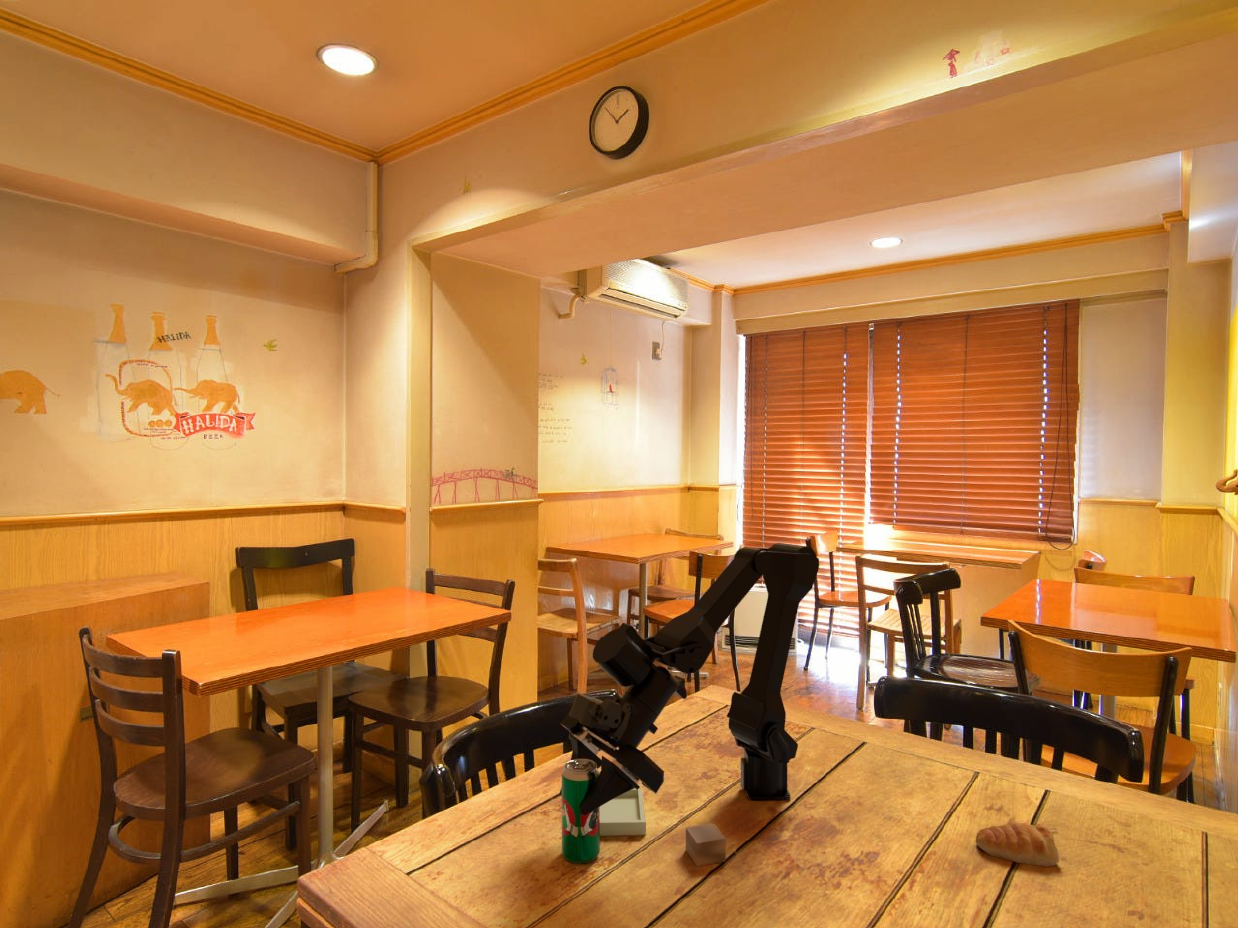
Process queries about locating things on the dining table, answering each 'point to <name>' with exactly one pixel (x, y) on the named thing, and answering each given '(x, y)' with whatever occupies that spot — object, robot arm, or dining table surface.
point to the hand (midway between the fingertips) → (571, 804)
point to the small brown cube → (705, 844)
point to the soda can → (577, 827)
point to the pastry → (1019, 843)
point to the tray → (624, 815)
